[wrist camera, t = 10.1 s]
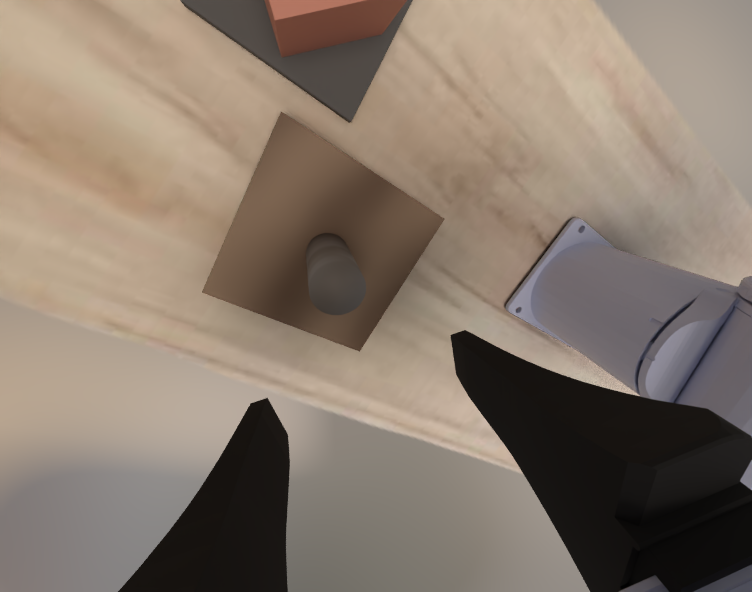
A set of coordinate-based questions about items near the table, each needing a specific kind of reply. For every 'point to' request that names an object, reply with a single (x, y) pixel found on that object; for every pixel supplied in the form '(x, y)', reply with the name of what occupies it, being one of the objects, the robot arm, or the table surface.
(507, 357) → the robot arm
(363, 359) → the table surface
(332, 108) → the mat
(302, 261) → the post block
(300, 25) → the terracotta cube
